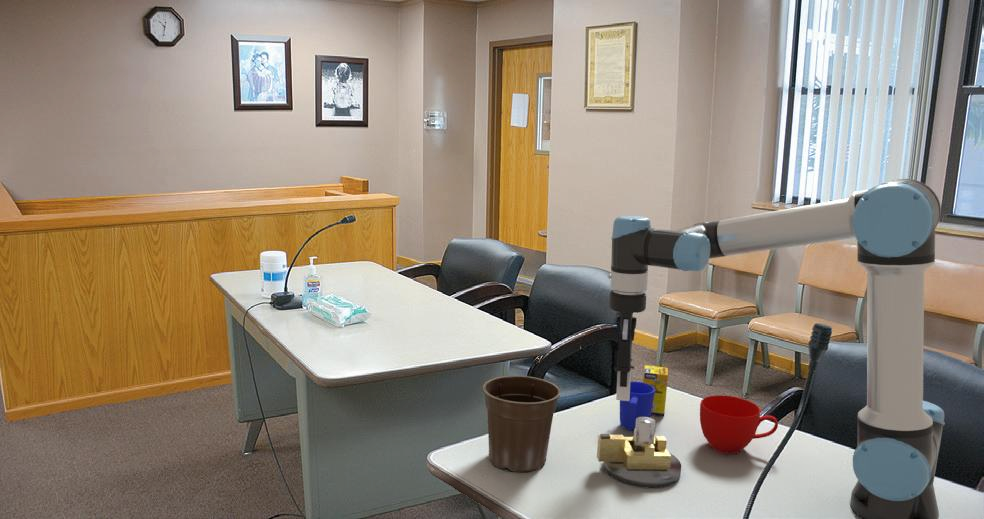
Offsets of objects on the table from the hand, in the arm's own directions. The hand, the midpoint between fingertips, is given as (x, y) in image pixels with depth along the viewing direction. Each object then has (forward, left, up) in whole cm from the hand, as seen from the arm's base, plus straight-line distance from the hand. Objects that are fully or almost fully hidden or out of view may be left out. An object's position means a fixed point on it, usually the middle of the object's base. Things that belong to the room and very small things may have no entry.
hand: (622, 399), depth 165 cm
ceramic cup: (-17, -23, -14) cm, 32 cm away
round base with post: (-6, +1, -14) cm, 15 cm away
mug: (+5, -16, -14) cm, 22 cm away
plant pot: (+16, +15, -14) cm, 26 cm away
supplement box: (+7, -30, -14) cm, 34 cm away
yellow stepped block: (-4, +2, -12) cm, 12 cm away
